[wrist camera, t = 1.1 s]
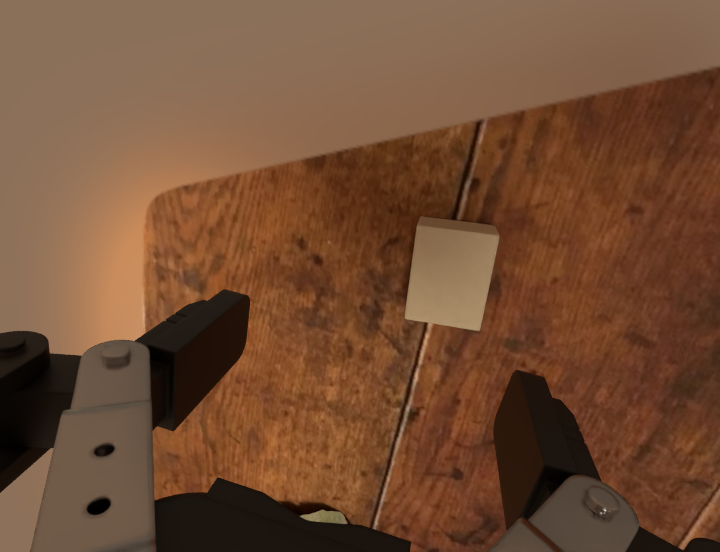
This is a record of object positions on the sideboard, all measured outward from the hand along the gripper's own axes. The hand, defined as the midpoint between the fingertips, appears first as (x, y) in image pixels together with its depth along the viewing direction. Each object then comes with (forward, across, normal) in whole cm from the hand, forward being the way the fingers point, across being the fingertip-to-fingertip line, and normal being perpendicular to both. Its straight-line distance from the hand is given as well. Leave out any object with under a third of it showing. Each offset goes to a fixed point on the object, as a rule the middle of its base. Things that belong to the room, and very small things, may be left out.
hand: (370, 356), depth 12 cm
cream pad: (+15, -3, +2) cm, 16 cm away
